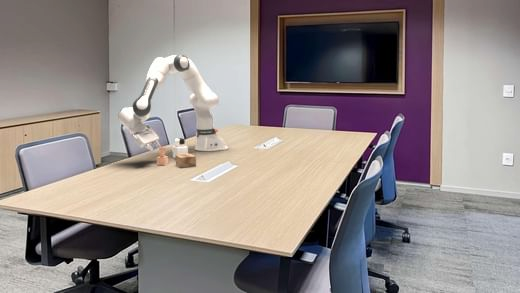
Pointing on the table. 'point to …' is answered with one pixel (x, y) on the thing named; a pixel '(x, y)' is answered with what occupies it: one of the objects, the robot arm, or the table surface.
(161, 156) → the vase
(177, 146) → the medicine bottle
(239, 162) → the table surface
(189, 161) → the walnut block
